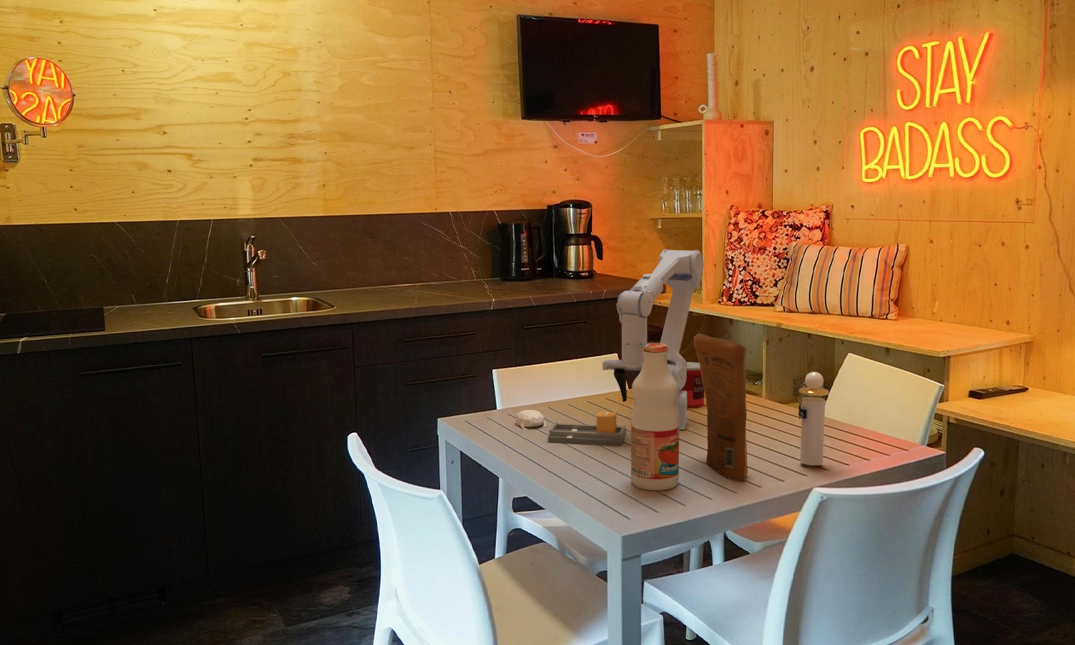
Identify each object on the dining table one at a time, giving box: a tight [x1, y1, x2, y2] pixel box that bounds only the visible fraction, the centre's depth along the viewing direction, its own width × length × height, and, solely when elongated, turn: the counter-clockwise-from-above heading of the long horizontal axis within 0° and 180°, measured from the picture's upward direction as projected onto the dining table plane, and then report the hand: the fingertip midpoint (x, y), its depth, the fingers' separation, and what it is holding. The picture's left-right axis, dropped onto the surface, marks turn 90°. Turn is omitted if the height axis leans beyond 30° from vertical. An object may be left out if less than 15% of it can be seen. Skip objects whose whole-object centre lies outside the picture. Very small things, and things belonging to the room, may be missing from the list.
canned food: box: [681, 361, 705, 409], centre depth 226 cm, size 8×8×11 cm
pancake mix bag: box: [693, 332, 749, 482], centre depth 173 cm, size 7×19×28 cm, turn 13°
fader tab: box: [596, 411, 617, 433], centre depth 197 cm, size 4×4×4 cm
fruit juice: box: [630, 342, 680, 491], centre depth 165 cm, size 9×9×28 cm
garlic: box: [515, 409, 547, 430], centre depth 210 cm, size 8×7×4 cm
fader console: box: [547, 421, 628, 447], centre depth 198 cm, size 17×10×2 cm, turn 76°
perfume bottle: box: [798, 371, 830, 466], centre depth 175 cm, size 6×6×20 cm
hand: (634, 401), depth 194 cm, fingers open, 4 cm apart
